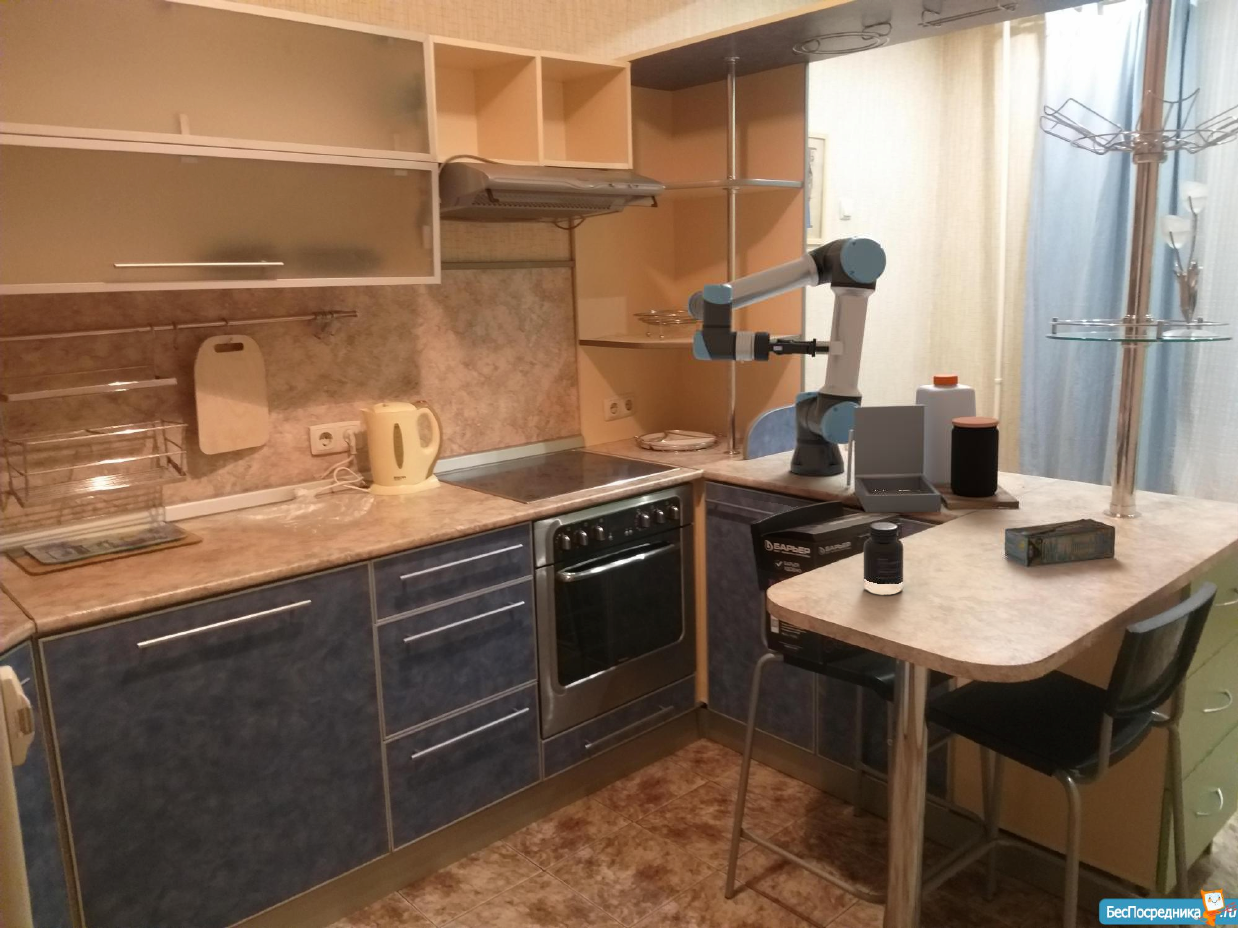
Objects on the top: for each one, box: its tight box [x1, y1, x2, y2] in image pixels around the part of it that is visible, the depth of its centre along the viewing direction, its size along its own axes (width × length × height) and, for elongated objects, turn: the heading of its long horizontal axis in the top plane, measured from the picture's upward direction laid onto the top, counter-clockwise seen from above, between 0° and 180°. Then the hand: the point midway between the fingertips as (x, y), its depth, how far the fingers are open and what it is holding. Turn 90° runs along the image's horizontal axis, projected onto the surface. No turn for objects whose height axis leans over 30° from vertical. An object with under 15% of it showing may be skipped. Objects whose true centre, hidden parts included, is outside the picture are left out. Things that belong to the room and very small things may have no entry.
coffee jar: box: [950, 416, 1000, 498], centre depth 225 cm, size 11×11×18 cm
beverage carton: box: [1004, 518, 1116, 568], centre depth 180 cm, size 8×19×7 cm, turn 100°
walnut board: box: [934, 484, 1020, 510], centre depth 227 cm, size 18×16×2 cm
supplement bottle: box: [863, 521, 904, 584], centre depth 166 cm, size 7×7×12 cm
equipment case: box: [846, 404, 942, 513], centre depth 230 cm, size 28×18×22 cm
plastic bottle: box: [914, 373, 977, 486], centre depth 246 cm, size 15×15×28 cm
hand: (842, 348), depth 235 cm, fingers open, 10 cm apart
